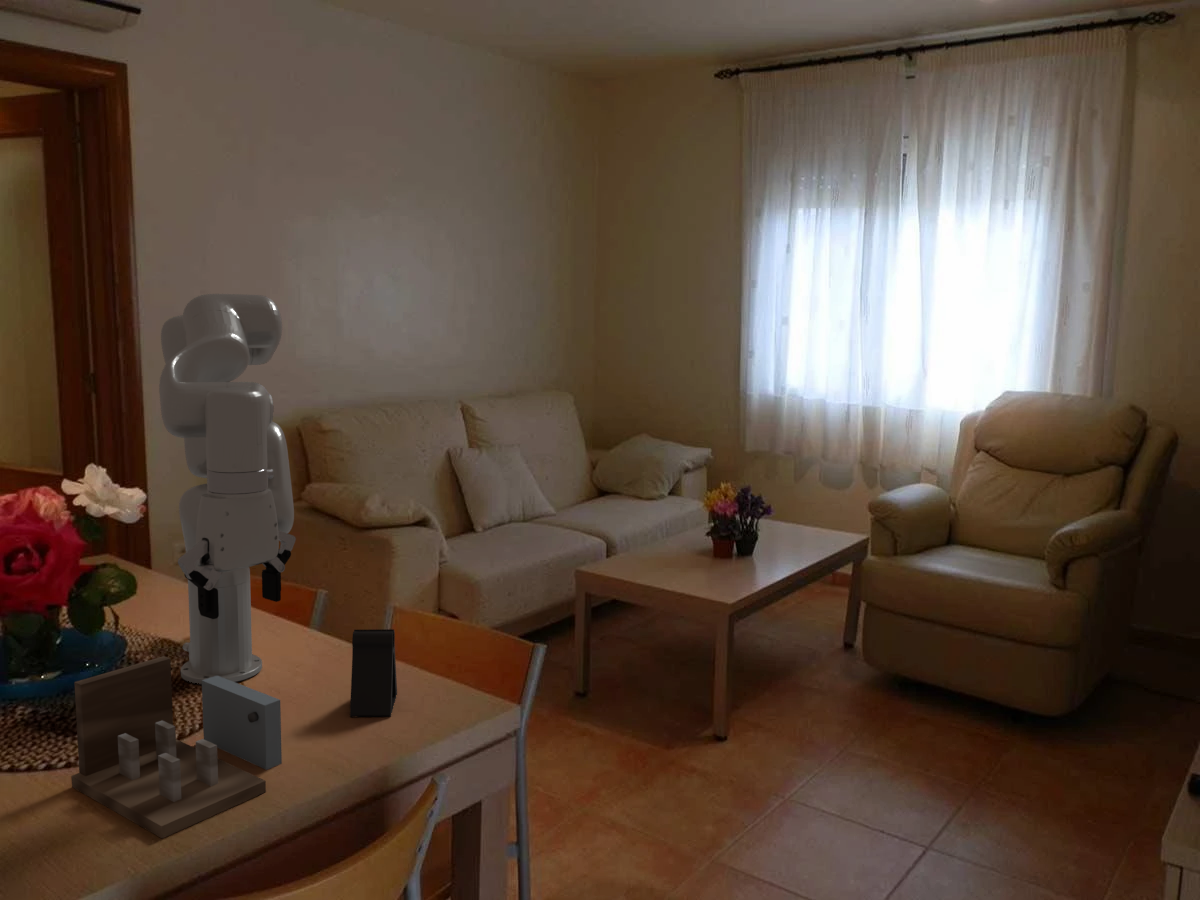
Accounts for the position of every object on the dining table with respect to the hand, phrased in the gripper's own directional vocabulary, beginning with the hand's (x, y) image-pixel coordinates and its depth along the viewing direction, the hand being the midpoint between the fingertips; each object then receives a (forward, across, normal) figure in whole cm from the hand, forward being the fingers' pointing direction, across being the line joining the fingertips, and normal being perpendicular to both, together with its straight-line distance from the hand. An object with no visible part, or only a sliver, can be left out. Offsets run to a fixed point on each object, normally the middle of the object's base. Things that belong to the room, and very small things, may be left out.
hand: (241, 608), depth 134 cm
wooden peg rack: (+20, +12, +2) cm, 24 cm away
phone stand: (+21, -22, +2) cm, 30 cm away
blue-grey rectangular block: (+20, 0, 0) cm, 21 cm away
